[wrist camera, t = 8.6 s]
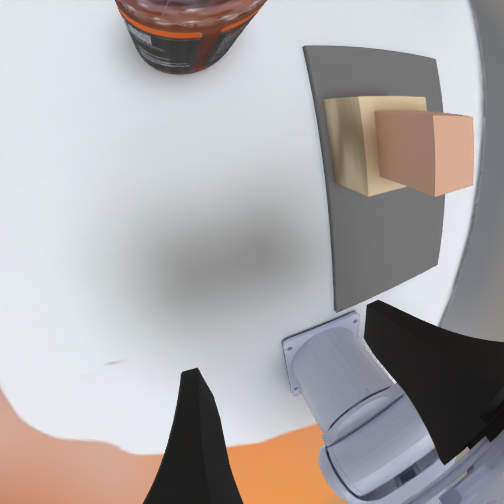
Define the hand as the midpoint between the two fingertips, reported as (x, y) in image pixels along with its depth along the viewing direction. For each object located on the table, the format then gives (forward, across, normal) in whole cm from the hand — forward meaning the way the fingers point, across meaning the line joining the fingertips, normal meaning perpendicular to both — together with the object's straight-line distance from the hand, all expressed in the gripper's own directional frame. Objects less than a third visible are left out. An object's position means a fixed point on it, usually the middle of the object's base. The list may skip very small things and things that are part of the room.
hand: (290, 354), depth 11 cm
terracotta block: (+6, -11, -6) cm, 14 cm away
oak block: (+10, -11, -6) cm, 16 cm away
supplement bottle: (+11, 0, -15) cm, 18 cm away
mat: (+10, -15, -2) cm, 18 cm away
